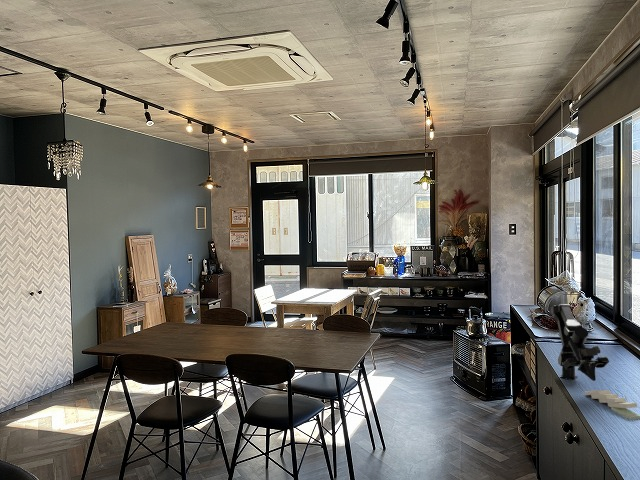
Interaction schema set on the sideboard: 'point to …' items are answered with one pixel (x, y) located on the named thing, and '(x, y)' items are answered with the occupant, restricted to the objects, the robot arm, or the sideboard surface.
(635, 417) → the domino
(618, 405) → the domino
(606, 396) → the domino
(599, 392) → the domino
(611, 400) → the domino
